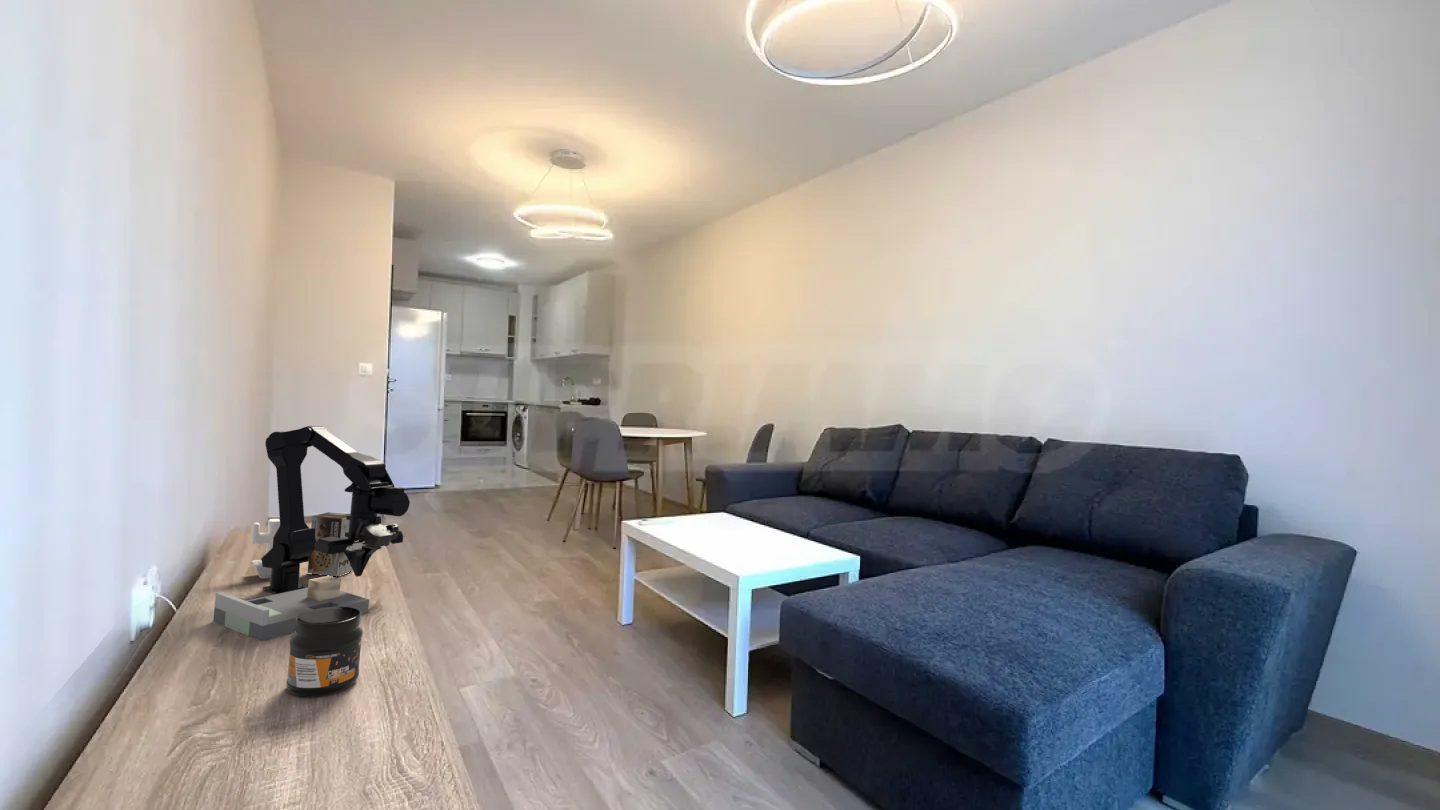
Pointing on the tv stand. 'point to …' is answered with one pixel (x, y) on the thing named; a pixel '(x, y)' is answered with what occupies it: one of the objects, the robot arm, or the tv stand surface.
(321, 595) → the maple block
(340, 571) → the coffee box
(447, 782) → the tv stand surface
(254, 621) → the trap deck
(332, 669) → the supplement container
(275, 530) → the figurine
